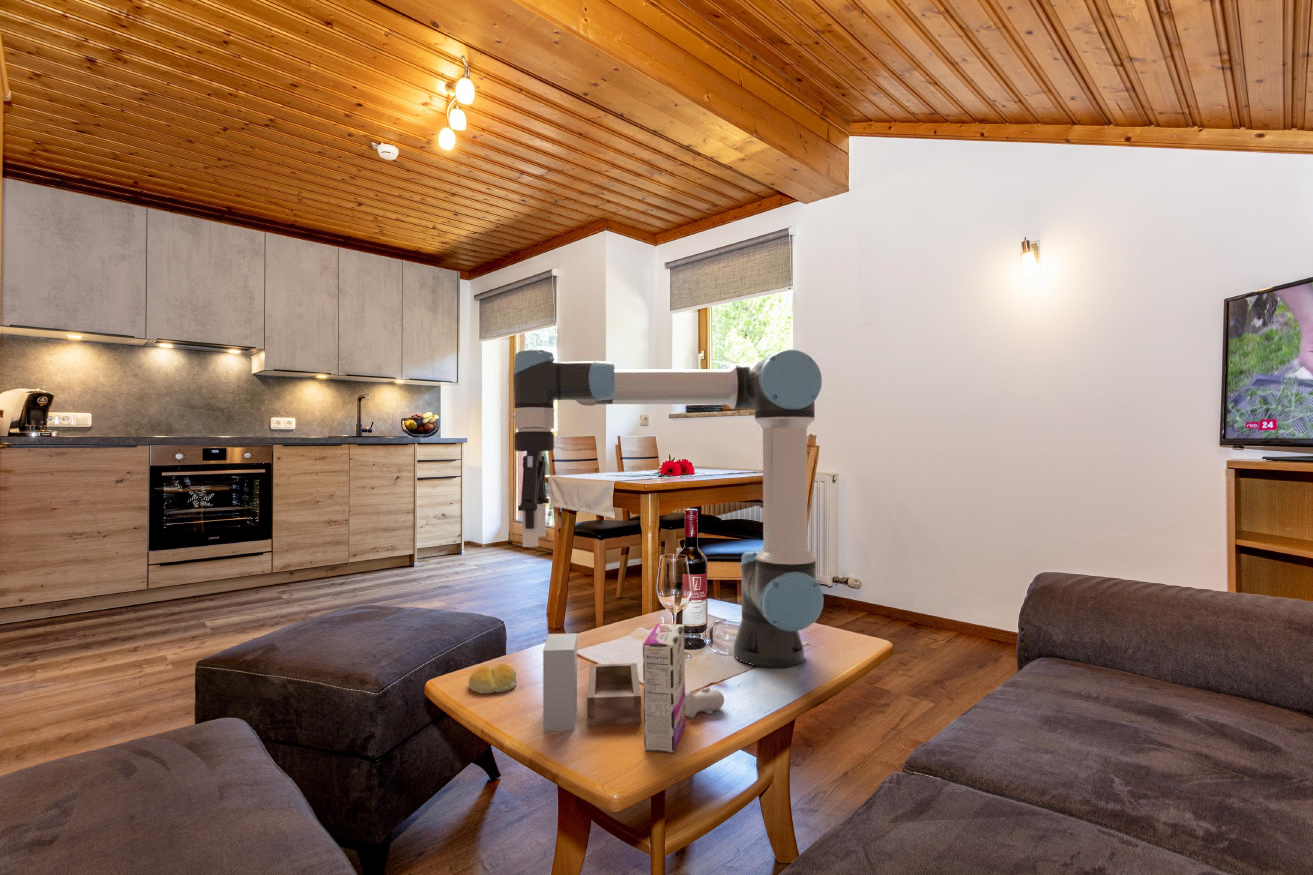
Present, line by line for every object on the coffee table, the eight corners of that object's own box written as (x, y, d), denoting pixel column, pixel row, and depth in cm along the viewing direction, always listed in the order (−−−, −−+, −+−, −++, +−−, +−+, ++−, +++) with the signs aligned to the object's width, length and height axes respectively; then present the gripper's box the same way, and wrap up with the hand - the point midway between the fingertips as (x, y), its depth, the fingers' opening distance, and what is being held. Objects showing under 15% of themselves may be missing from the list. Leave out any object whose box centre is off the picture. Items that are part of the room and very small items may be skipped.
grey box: (577, 707, 112) (576, 633, 112) (574, 729, 103) (574, 649, 103) (548, 708, 111) (548, 634, 112) (543, 730, 102) (543, 650, 103)
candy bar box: (656, 719, 106) (656, 622, 107) (686, 722, 105) (685, 623, 106) (641, 751, 95) (641, 642, 96) (674, 754, 94) (674, 644, 95)
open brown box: (637, 686, 121) (636, 663, 121) (641, 722, 105) (641, 695, 105) (589, 688, 120) (589, 664, 120) (587, 724, 104) (587, 697, 104)
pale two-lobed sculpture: (715, 710, 113) (729, 712, 109) (675, 718, 110) (689, 719, 105) (711, 684, 114) (726, 685, 110) (672, 691, 111) (685, 692, 107)
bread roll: (470, 681, 125) (470, 660, 125) (516, 677, 127) (516, 657, 127) (466, 697, 117) (466, 675, 117) (515, 693, 118) (515, 672, 119)
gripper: (523, 432, 134) (523, 533, 134) (503, 428, 109) (504, 551, 109) (558, 432, 135) (559, 532, 134) (547, 428, 110) (548, 550, 109)
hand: (534, 541), depth 122 cm, fingers open, 13 cm apart
